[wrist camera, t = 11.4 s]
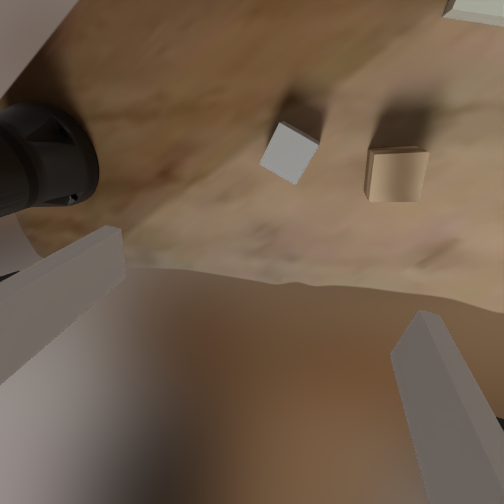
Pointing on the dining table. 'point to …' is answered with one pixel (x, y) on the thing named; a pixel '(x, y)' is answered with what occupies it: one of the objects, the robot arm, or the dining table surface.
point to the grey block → (289, 152)
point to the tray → (476, 11)
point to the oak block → (395, 174)
